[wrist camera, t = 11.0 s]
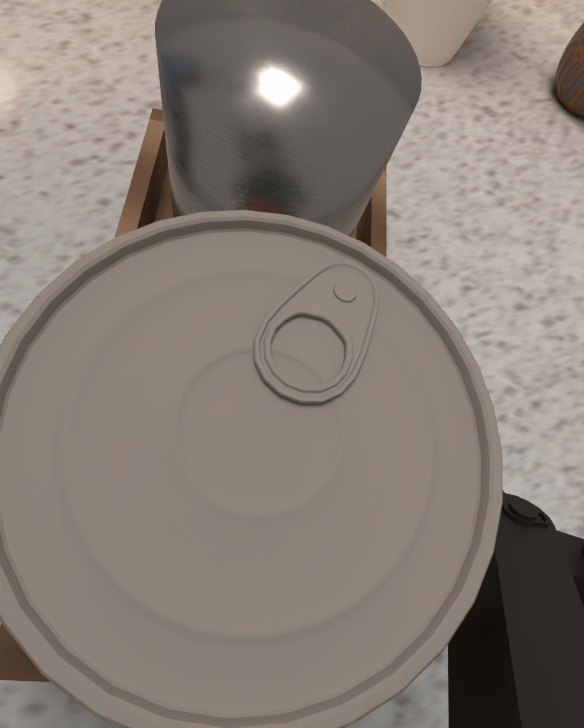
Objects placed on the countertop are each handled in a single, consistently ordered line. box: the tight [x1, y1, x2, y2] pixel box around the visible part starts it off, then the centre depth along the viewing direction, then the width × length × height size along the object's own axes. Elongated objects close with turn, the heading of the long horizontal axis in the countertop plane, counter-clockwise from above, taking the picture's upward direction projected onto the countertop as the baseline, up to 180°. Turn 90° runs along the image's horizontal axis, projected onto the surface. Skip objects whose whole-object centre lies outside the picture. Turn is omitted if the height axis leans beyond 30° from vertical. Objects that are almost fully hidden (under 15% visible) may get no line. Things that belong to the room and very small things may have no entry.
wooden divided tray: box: [0, 108, 386, 682], centre depth 20 cm, size 24×13×4 cm, turn 175°
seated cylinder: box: [155, 0, 422, 237], centre depth 18 cm, size 8×8×11 cm
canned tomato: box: [0, 210, 503, 728], centre depth 11 cm, size 8×8×11 cm
